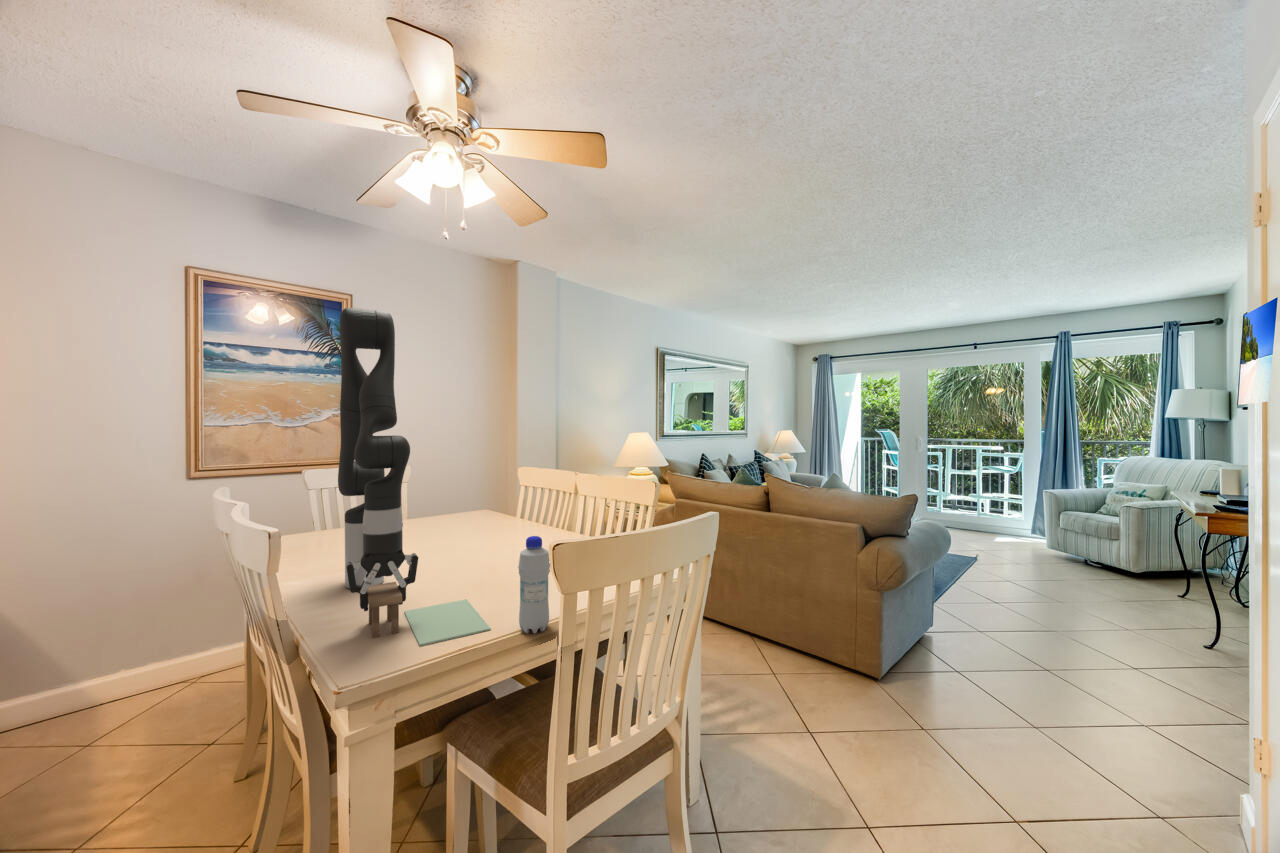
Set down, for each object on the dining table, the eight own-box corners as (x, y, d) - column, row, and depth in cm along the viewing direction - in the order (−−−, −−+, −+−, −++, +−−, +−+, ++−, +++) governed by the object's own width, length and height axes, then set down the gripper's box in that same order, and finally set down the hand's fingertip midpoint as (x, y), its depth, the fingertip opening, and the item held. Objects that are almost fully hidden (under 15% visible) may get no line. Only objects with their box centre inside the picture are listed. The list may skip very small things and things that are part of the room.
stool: (365, 622, 109) (365, 586, 109) (395, 616, 112) (395, 581, 112) (369, 639, 101) (369, 600, 101) (402, 633, 104) (402, 595, 104)
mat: (404, 612, 115) (404, 611, 115) (466, 600, 122) (466, 599, 122) (419, 646, 98) (419, 644, 98) (490, 630, 106) (490, 628, 106)
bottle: (518, 637, 102) (518, 541, 102) (517, 624, 109) (517, 533, 108) (551, 634, 104) (551, 539, 104) (548, 621, 110) (548, 531, 110)
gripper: (416, 522, 113) (416, 595, 114) (343, 529, 105) (343, 608, 106) (422, 528, 107) (422, 605, 107) (344, 536, 99) (345, 620, 99)
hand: (383, 606), depth 106 cm, fingers closed on stool, 6 cm apart
